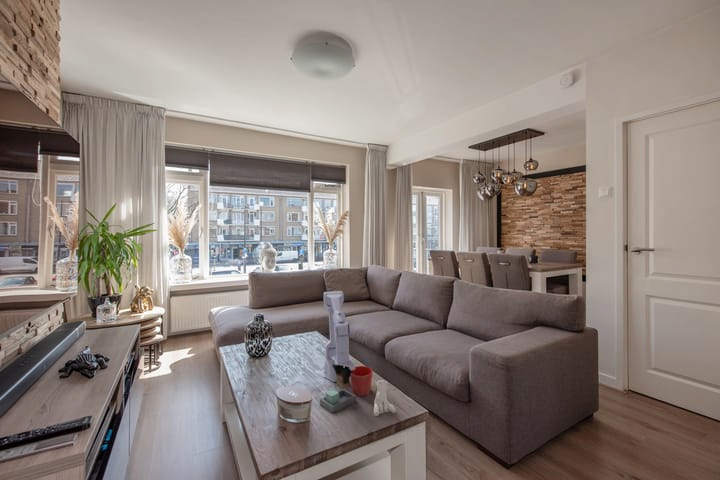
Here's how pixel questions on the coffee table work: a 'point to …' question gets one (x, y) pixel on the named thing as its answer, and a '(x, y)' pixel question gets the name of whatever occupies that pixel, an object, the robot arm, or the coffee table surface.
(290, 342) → the coffee table surface
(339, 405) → the tray
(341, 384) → the walnut block
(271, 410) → the coffee table surface
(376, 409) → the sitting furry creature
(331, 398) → the teal block
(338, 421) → the coffee table surface
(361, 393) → the flower pot
